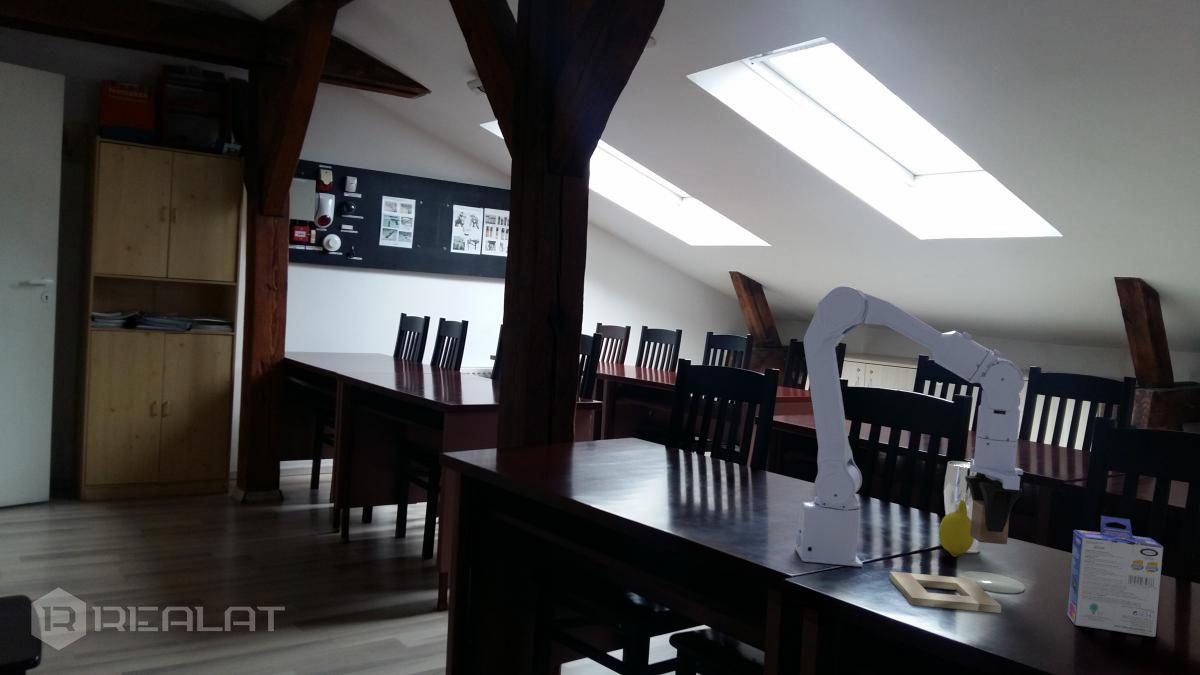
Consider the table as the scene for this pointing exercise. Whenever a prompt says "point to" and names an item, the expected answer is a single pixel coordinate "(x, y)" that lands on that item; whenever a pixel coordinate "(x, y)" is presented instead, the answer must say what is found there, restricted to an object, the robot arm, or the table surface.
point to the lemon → (956, 533)
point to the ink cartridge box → (1115, 579)
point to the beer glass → (959, 492)
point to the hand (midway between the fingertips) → (989, 527)
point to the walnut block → (980, 528)
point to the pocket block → (966, 587)
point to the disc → (994, 582)
